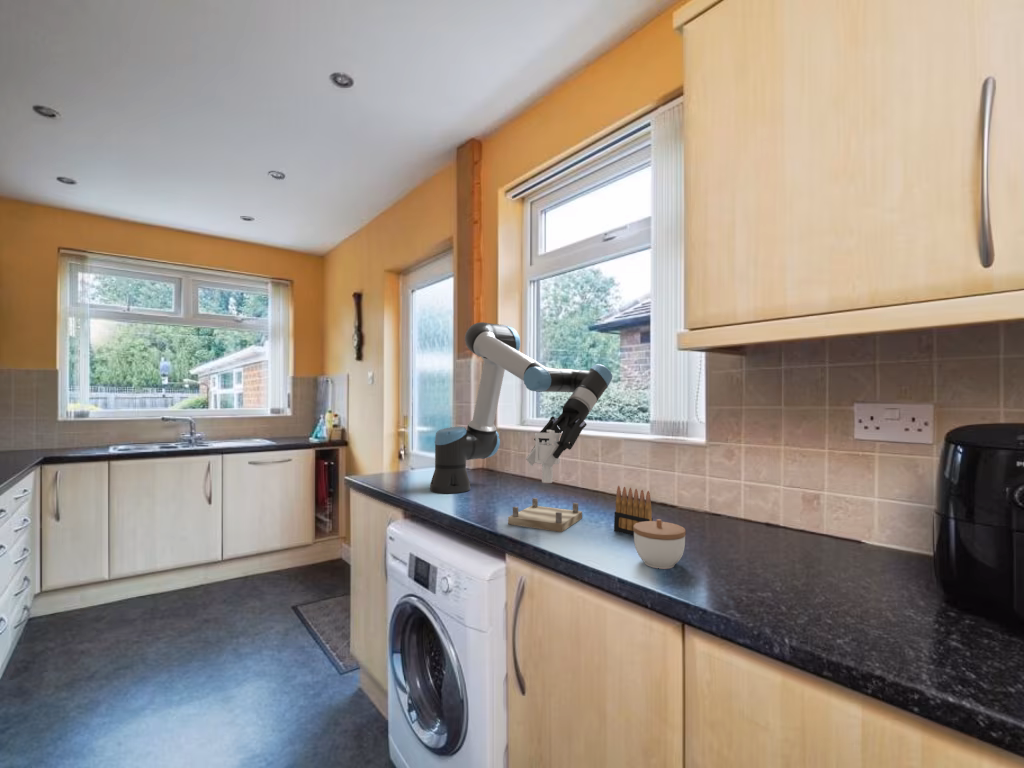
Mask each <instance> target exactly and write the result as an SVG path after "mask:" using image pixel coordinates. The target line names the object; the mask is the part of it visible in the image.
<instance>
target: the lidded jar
mask: <svg viewBox="0 0 1024 768" xmlns="http://www.w3.org/2000/svg"><path fill="white" fill-rule="evenodd" d="M633 531H634V536H633V541H634V546H635V547H634V548H635V550H636V553H637V555H638V556H639V558H640V559H641V560H642V561H643V562H644V564H645V565H646V566H647V567H650V568H653V569H658V568H659V570H669V569H672V568H674V567H675V565H677V563H678V562H679V561H680V560H681V559H682V556H683V554H684V551H685V545H686V534H687V533H686V531H687V530H686V529H685V527H683V526H681V525H680V524H676V523H672V522H667V521H662V519H660V518H658V519H657V518H656V520H653V521H644V522H639V523H636V524H634V526H633Z"/></svg>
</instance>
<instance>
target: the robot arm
mask: <svg viewBox="0 0 1024 768" xmlns="http://www.w3.org/2000/svg"><path fill="white" fill-rule="evenodd" d="M518 333H519V332H518V331H517V330H516V329H515V328H514V327H512V326H508V325H505V324H500V323H499V324H497V323H489V322H483V321H482V322H476V323H473V324H472V325H470V326H469V328H468V329H467V330H466V332H465V334H464V341H465V342H464V343H465V346H466V347H467V349H468V350H469V351H471V352H472V354H473V355H476V356H478V357H479V358H481V359H482V360H483V365H482V369H481V375H480V381H479V385H478V386H479V387H478V390H477V396H476V401H475V405H474V410H473V411H474V412H473V416H472V419H471V420H470V421H469V422H468V423H467V426H466V427H465V426H464V427H463V426H454V427H453V426H452V427H445V428H441V429H438V430H437V432H436V433H435V437H434V438H435V439H434V446H435V447H434V465H435V466H434V470H433V474H432V478H431V481H430V484H429V490H430V492H433V493H438V494H459V493H460V494H461V493H466V492H469V491H470V490H471V481H470V478H469V475H468V471H467V467H466V466H467V463H466V462H467V461H470V460H484V459H487V458H491V457H493V456H494V455H495V454H497V452H498V450H499V449H500V444H501V439H500V438H499V437H500V435H499V432H498V431H497V427H496V425H495V419H496V415H497V410H498V406H499V405H498V404H499V399H500V395H501V391H502V390H501V389H502V386H503V380H504V376H505V371H507V372H509V374H511V375H513V376H514V377H516V378H518V379H519V380H521V381H522V382H523V384H524V385H525V388H526V389H527V390H529V391H530V392H536V393H543V392H544V393H546V392H547V393H549V392H550V393H553V392H554V393H571V395H570V396H569V398H568V399H567V401H566V402H565V403H564V405H563V406H562V413H561V414H560V415H559V416H557V417H554V416H551V417H550V418H549V420H548V421H547V423H546V424H545V425H544V427H543V428H542V429H541V430H540V431H539V433H549V432H547V430H554V431H555V433H559V434H560V438H559V442H557V444H558V445H559V446H558V445H556V444H555V446H554V447H553V449H552V450H551V451H550V453H549V454H548V456H547V457H546V458H545V460H544V461H543V463H544V464H545V465H546V467H547V468H548V469H550V468H551V467H552V468H553V465H555V464H554V462H555V461H556V459H557V458H559V459H560V457H561V455H562V453H563V452H564V451H566V450H567V449H568V450H572V449H573V447H574V445H575V443H576V442H577V440H578V438H579V436H580V434H581V433H582V432H583V431H582V430H584V429H585V427H587V423H586V421H585V420H586V419H587V417H588V415H589V414H590V413H591V411H592V410H593V408H594V407H595V405H596V404H597V403H598V401H599V399H600V398H601V396H602V395H603V394H604V393H605V391H606V390H607V389H608V388H609V385H610V384H611V382H612V380H613V374H612V371H611V370H610V369H609V368H608V367H607V366H605V365H603V364H600V363H596V364H594V365H592V366H591V367H590V368H589V370H583V369H582V370H580V369H571V368H568V367H567V368H565V367H562V368H561V367H560V368H558V367H557V368H556V367H548V366H545V365H543V364H541V363H540V362H538V361H537V360H535V359H534V358H531V357H530V356H528V355H526V354H524V353H523V352H521V351H520V349H521V338H520V334H518ZM542 440H545V442H547V441H548V440H549V438H539V442H542ZM534 441H535V438H534ZM525 461H527V462H528V464H529V465H530V466H534V464H536V463H535V446H534V447H532V449H531V451H530V453H529V454H528V456H527V457H526V459H525Z"/></svg>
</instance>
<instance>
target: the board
mask: <svg viewBox="0 0 1024 768" xmlns="http://www.w3.org/2000/svg"><path fill="white" fill-rule="evenodd" d="M531 500H532V505H530V506H528V507H526V508H524V509H522V510H520V511H519V506H512V514H511V515H510V516H508V517H507V523H508V525H511V526H519V527H525V528H532V529H538V530H547V531H552V532H559V533H563V532H564V531H566V530H567V529H568V528H570V527H572V526H573V525H575V524H576V523H577V522H579V521H580V520H582V519H583V511H581V510H579V502H572V509H565V508H557V507H548V506H541V505H539V503H538V501H539V499H538V497H533V498H532V499H531Z"/></svg>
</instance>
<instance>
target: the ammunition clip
mask: <svg viewBox="0 0 1024 768" xmlns="http://www.w3.org/2000/svg"><path fill="white" fill-rule="evenodd" d="M626 488H627V487H626V486H624V487H623V488H622V490H621V487H620V485H617V489H616V496H615V511H614V520H613V521H614V524H613V531H614V532H618V533H621V534H625V535H629V536H632V537H634V531H633V526H634V524H636V523H639V522H644V521H654V519H653V517H652V515H653V514H652V503H651V499H652V498H651V494H650V491H649V490H647V492H646V496H645V492H644V489H641V490H640V493H639V491H638V489H637V488H635V490H634V493H633V489H632V487H629V489H628V492H627V489H626ZM627 493H628V494H627Z"/></svg>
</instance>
